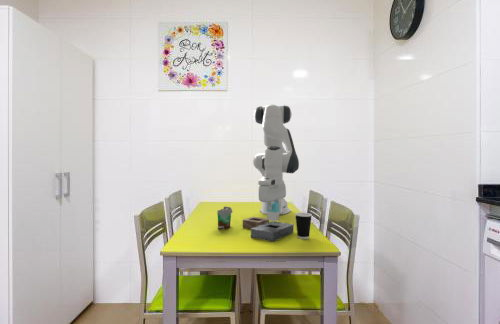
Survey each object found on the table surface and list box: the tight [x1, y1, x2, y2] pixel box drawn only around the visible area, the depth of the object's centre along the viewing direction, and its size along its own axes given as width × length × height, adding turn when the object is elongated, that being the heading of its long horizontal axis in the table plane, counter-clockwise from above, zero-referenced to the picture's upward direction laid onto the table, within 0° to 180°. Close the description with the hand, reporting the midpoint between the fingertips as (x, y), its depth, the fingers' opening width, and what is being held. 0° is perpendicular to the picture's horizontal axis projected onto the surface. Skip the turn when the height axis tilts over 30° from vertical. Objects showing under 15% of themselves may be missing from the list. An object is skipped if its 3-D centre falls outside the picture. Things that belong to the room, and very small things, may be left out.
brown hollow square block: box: [242, 216, 270, 230], centre depth 164 cm, size 10×10×4 cm
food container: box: [216, 206, 233, 230], centre depth 162 cm, size 12×6×10 cm, turn 168°
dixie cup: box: [294, 212, 313, 240], centre depth 144 cm, size 8×8×11 cm
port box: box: [250, 220, 295, 242], centre depth 149 cm, size 20×12×4 cm, turn 146°
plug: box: [266, 203, 280, 222], centre depth 148 cm, size 3×5×8 cm, turn 56°
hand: (273, 209), depth 148 cm, fingers closed on plug, 3 cm apart
